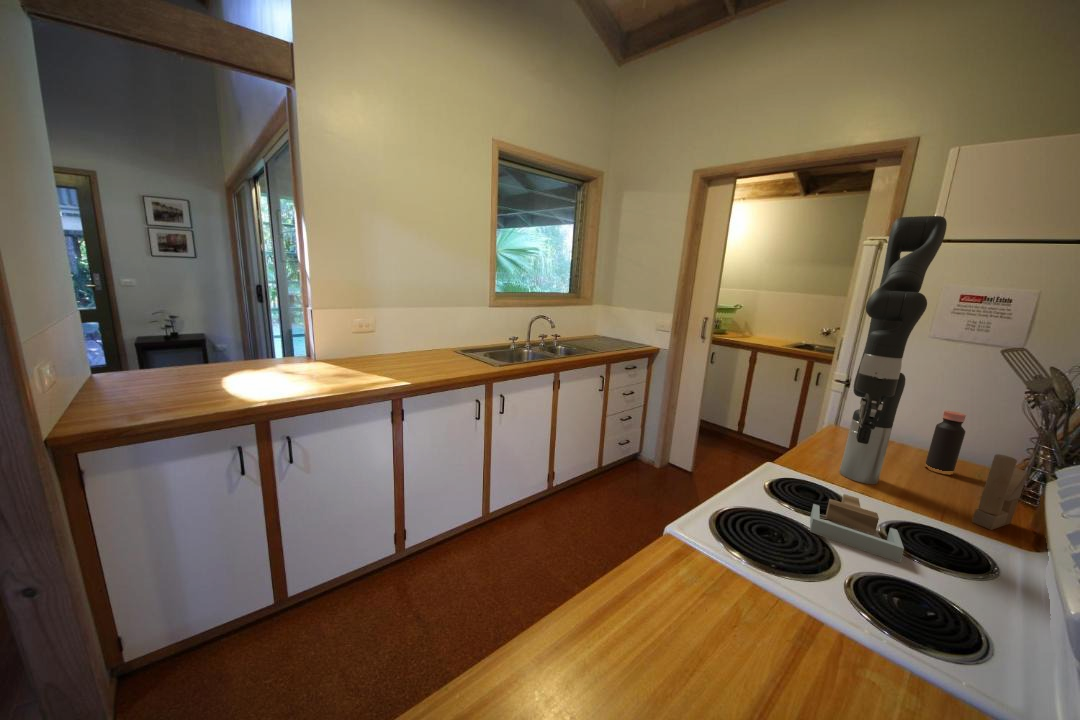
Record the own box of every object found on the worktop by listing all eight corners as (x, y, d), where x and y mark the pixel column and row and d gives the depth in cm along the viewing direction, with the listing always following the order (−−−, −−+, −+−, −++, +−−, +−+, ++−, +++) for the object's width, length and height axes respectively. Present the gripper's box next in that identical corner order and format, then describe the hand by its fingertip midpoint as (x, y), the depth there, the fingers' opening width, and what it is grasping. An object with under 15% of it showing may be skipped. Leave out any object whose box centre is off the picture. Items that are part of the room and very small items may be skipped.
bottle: (927, 471, 131) (944, 412, 127) (921, 464, 137) (937, 408, 133) (956, 478, 127) (973, 418, 124) (948, 470, 133) (965, 413, 130)
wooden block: (1011, 524, 101) (1033, 457, 97) (991, 531, 96) (1013, 461, 93) (990, 516, 104) (1011, 450, 101) (970, 522, 100) (991, 454, 96)
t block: (825, 504, 102) (828, 489, 102) (870, 517, 97) (874, 502, 97) (826, 519, 95) (829, 503, 94) (874, 534, 90) (878, 518, 89)
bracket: (810, 516, 95) (813, 503, 95) (893, 543, 87) (897, 529, 87) (810, 531, 89) (813, 518, 88) (900, 562, 80) (904, 548, 80)
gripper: (856, 368, 105) (841, 430, 108) (861, 374, 94) (844, 444, 97) (894, 373, 101) (877, 438, 104) (903, 381, 90) (884, 454, 93)
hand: (861, 441), depth 100 cm, fingers closed
